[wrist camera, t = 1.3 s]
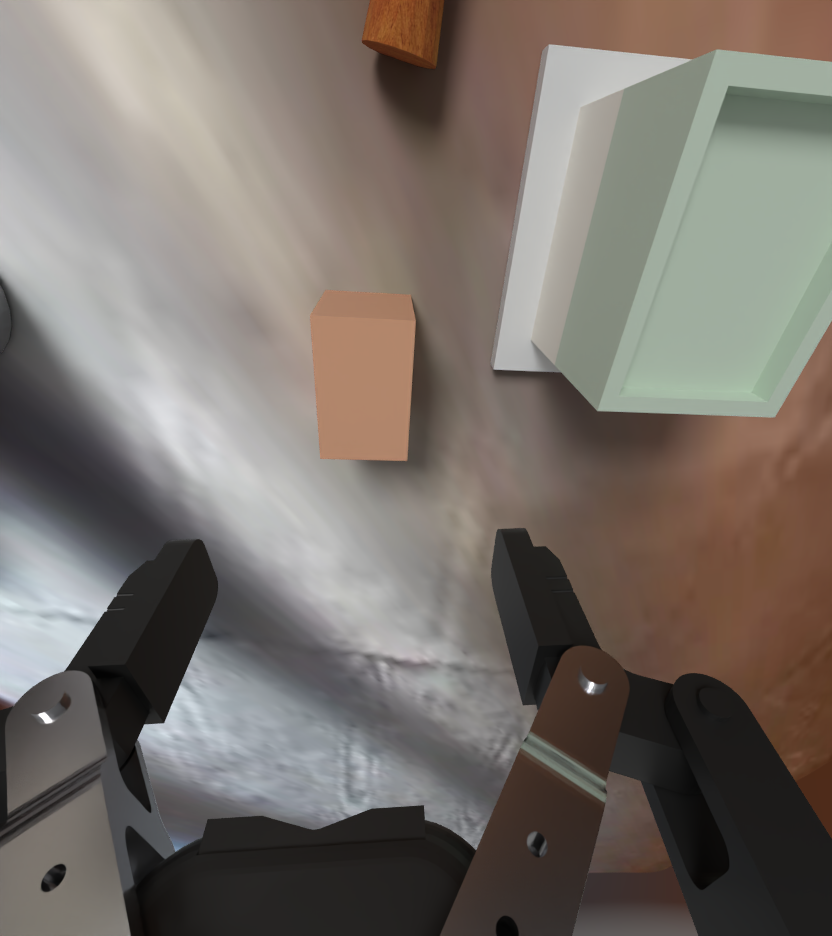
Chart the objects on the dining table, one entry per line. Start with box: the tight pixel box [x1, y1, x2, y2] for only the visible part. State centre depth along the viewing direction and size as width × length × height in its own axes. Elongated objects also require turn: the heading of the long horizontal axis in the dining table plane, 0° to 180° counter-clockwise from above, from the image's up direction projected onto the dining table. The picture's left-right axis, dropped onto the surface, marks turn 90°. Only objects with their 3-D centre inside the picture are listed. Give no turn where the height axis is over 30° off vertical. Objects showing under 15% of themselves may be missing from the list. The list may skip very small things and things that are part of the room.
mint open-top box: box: [491, 44, 832, 417], centre depth 20 cm, size 15×12×11 cm
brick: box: [310, 290, 416, 461], centre depth 25 cm, size 8×5×6 cm, turn 176°
